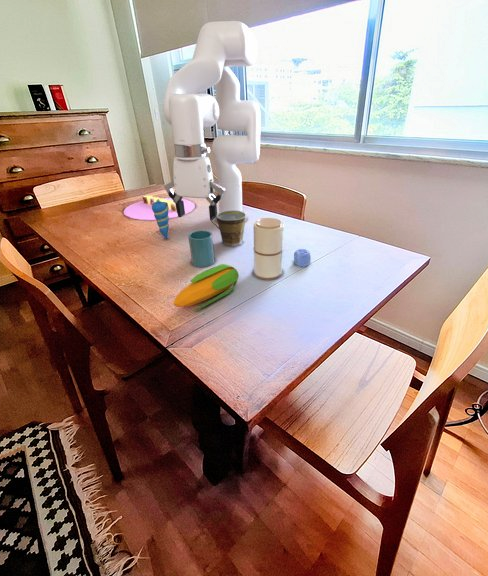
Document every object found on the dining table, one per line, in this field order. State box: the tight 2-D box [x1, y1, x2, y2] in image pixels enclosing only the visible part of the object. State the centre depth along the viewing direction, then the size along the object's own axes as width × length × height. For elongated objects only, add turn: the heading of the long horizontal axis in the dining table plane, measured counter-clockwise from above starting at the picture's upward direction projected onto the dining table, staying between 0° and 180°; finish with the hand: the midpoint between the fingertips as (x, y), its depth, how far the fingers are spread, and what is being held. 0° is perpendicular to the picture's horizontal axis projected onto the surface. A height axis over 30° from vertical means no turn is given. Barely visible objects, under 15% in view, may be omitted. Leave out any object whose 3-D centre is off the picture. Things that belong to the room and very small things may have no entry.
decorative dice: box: [293, 248, 311, 267], centre depth 90 cm, size 4×4×4 cm
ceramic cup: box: [209, 210, 247, 247], centre depth 102 cm, size 13×10×10 cm
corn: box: [172, 263, 240, 312], centre depth 74 cm, size 7×8×20 cm
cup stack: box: [253, 217, 285, 281], centre depth 83 cm, size 8×8×15 cm
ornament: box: [152, 197, 170, 240], centre depth 103 cm, size 5×5×15 cm
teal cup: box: [187, 229, 215, 268], centre depth 90 cm, size 7×7×9 cm
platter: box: [123, 194, 196, 221], centre depth 137 cm, size 32×32×3 cm
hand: (197, 217), depth 85 cm, fingers open, 9 cm apart
